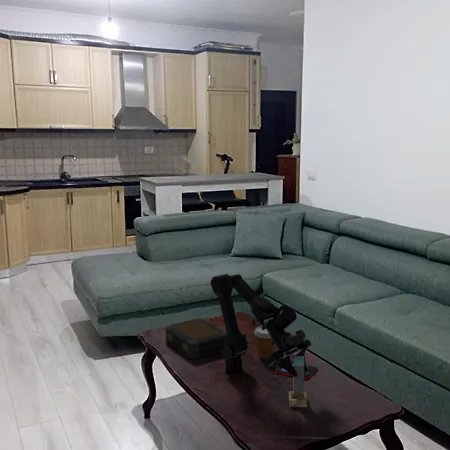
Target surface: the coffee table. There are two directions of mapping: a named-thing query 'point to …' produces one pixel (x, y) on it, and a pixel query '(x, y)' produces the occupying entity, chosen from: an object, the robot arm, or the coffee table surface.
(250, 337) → the coffee table surface
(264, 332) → the disposable coffee cup
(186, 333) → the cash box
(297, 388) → the teal-topped square pillar
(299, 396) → the open wooden box
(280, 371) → the game console
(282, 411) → the coffee table surface
